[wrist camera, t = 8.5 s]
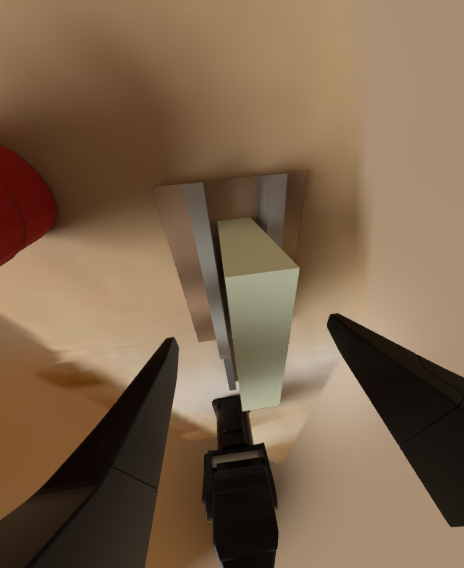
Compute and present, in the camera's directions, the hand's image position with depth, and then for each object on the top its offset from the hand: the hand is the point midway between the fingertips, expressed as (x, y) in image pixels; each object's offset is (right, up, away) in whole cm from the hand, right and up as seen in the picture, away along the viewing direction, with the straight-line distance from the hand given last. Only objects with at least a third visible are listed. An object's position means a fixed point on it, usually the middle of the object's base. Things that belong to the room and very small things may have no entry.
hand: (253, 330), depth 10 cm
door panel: (-1, +3, +5) cm, 6 cm away
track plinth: (-1, +4, +6) cm, 8 cm away
